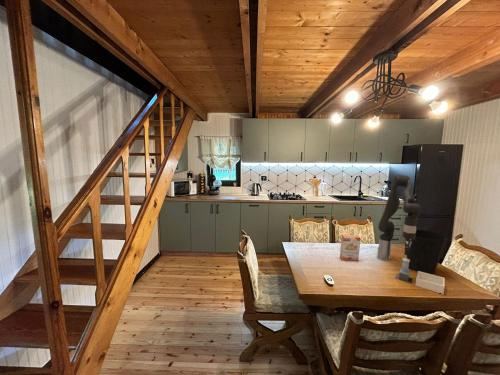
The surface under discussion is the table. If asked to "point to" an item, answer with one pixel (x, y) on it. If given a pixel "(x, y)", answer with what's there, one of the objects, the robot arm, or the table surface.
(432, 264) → the bucket
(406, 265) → the knob
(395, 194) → the robot arm
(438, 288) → the parts tray
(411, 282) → the stud mount
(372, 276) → the table surface
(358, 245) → the cracker box
